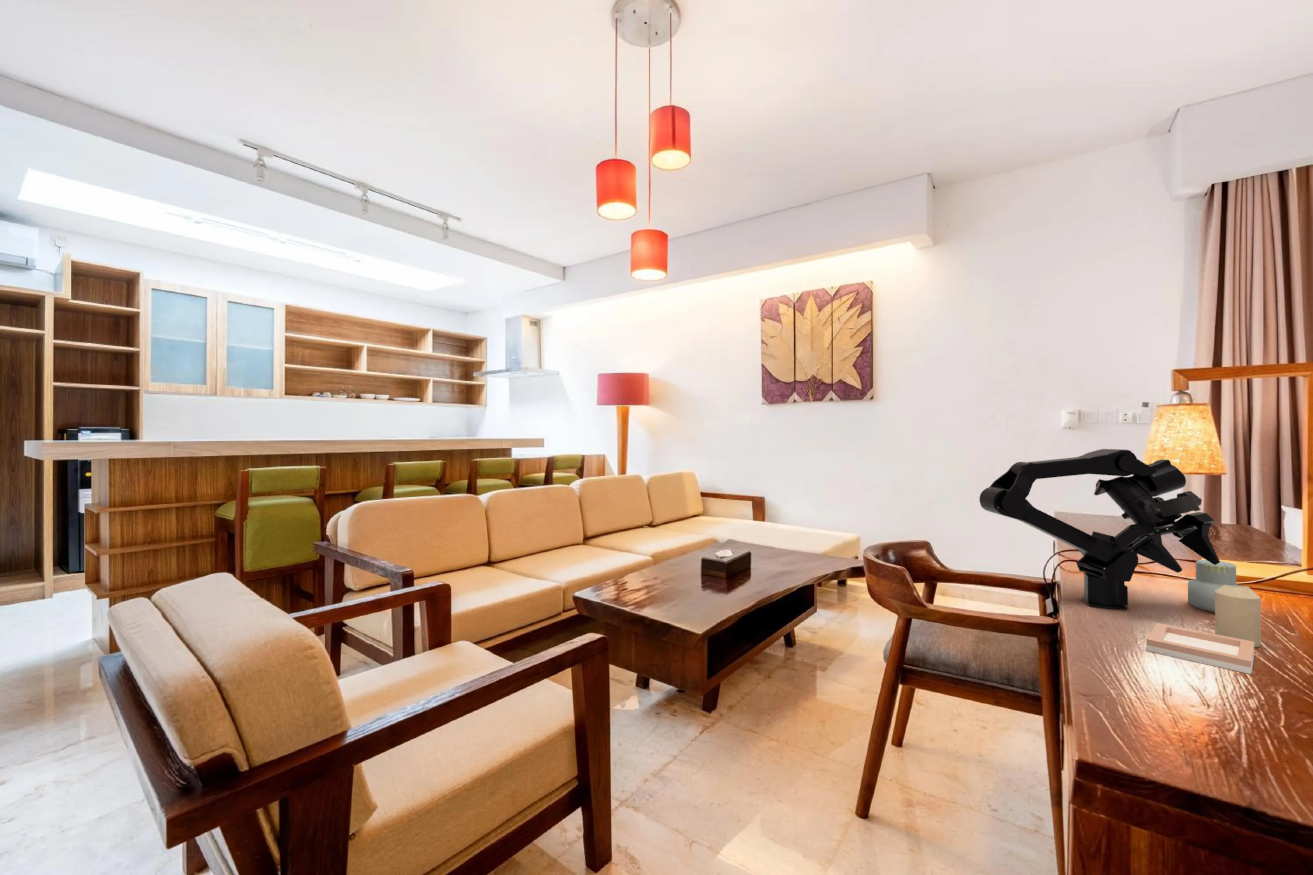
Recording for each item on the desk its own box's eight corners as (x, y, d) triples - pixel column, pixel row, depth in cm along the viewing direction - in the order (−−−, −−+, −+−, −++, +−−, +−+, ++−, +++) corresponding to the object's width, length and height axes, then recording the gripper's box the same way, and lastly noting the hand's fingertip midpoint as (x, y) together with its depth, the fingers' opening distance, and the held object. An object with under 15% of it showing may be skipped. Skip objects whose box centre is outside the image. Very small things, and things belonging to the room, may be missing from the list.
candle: (1246, 637, 97) (1246, 583, 97) (1269, 649, 91) (1269, 591, 91) (1207, 634, 98) (1207, 580, 98) (1228, 645, 93) (1227, 588, 93)
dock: (1251, 674, 82) (1251, 661, 82) (1146, 650, 91) (1146, 638, 91) (1254, 653, 90) (1254, 641, 90) (1157, 633, 99) (1157, 622, 99)
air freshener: (1188, 600, 119) (1188, 555, 119) (1243, 608, 113) (1243, 561, 113) (1187, 611, 111) (1187, 563, 111) (1246, 620, 105) (1246, 570, 105)
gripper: (1127, 486, 106) (1194, 554, 96) (1201, 473, 109) (1273, 538, 99) (1090, 516, 114) (1148, 582, 104) (1160, 504, 118) (1223, 567, 108)
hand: (1199, 567), depth 104 cm, fingers open, 9 cm apart
